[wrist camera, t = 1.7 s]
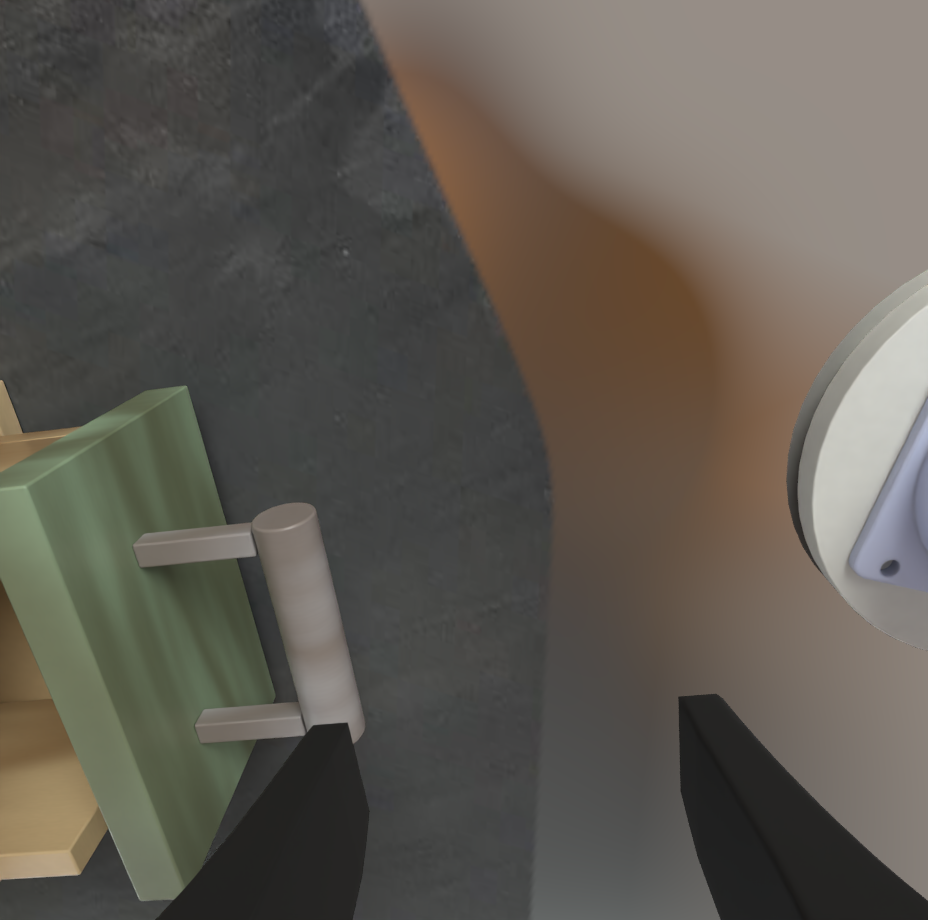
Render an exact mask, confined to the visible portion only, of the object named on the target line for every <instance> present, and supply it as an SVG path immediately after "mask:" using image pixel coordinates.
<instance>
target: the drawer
mask: <svg viewBox="0 0 928 920" xmlns="http://www.w3.org/2000/svg"><path fill="white" fill-rule="evenodd" d="M258 553H259V557H260V560H261V564H262V568H263V571H264V575H265V579H266V582H267V586H268V590H269V594H270V597H271V601H272V605H273V608H274V612H275V616H276V619H277V623H278V627H279V630H280V634H281V638H282V641H283V645H284V649H285V652H286V656H287V660H288V663H289V667H290V671H291V674H292V678H293V682H294V685H295V689H296V693H297V696H298V700H299V702H288V703H276V704H273V701H274V699H275V696H276V695H275V691H274V688H273V684H272V681H271V677H270V674H269V670H268V667H267V663H266V660H265V656H264V653H263V649H262V646H261V642H260V639H259V635H258V632H257V628H256V625H255V621H254V618H253V614H252V611H251V607H250V604H249V601H248V597H247V594H246V590H245V587H244V583H243V580H242V576H241V573H240V569H239V566H238V562H237V559H236V558H245V557H254V556H256V555H257V554H258ZM346 722H348V725H349V729H350V734H351V738H352V742H353V744H354V743H355V742H357V741H358V740H359V739H360V737H361V736H362V734H363V732H364V729H365V719H364V714H363V710H362V706H361V702H360V697H359V693H358V689H357V684H356V680H355V676H354V671H353V667H352V663H351V658H350V654H349V650H348V645H347V641H346V637H345V633H344V628H343V624H342V620H341V615H340V611H339V607H338V602H337V598H336V594H335V589H334V585H333V581H332V576H331V572H330V568H329V564H328V559H327V555H326V551H325V546H324V542H323V538H322V533H321V529H320V525H319V520H318V516H317V512H316V509H315V508H314V506H312V505H311V504H308V503H288V504H283V505H279V506H276V507H273V508H270V509H268V510H265V511H264V512H262V513H260V514H259V515H257V516H256V517H255V518H254V519H253V521H252V522H251V523H242V524H232V525H227V524H226V520H225V517H224V513H223V510H222V506H221V503H220V499H219V496H218V492H217V489H216V485H215V482H214V478H213V475H212V471H211V468H210V464H209V461H208V457H207V454H206V450H205V447H204V443H203V440H202V436H201V433H200V429H199V426H198V422H197V419H196V415H195V412H194V408H193V405H192V401H191V398H190V394H189V391H188V387H187V386H178V387H170V388H162V389H154V390H146V391H144V392H143V393H141V394H139V395H137V396H135V397H134V398H132V399H130V400H128V401H127V402H125V403H123V404H121V405H119V406H118V407H116V408H114V409H112V410H111V411H109V412H107V413H105V414H103V415H102V416H100V417H98V418H96V419H94V420H93V421H91V422H89V423H87V424H86V425H84V426H82V427H73V428H65V429H57V430H48V431H40V432H31V433H23V434H15V435H6V436H0V880H4V879H20V878H37V877H54V876H70V875H79V874H81V872H82V871H83V869H84V868H85V866H86V864H87V863H88V861H89V859H90V858H91V856H92V854H93V853H94V851H95V849H96V848H97V846H98V844H99V843H100V841H101V840H102V838H103V836H104V835H105V833H106V831H107V830H108V829H109V831H110V834H111V836H112V838H113V841H114V843H115V845H116V848H117V850H118V852H119V854H120V857H121V859H122V861H123V864H124V866H125V868H126V871H127V873H128V875H129V878H130V880H131V882H132V884H133V887H134V889H135V891H136V894H137V896H138V898H139V900H140V901H152V900H170V899H175V898H176V897H177V896H178V895H179V894H180V893H181V892H182V890H183V889H184V888H185V887H186V886H187V885H188V884H189V883H190V881H191V880H192V879H193V878H194V877H195V876H196V874H197V873H198V872H199V871H200V870H201V867H202V865H203V863H204V860H205V858H206V856H207V854H208V851H209V849H210V847H211V844H212V842H213V840H214V837H215V835H216V833H217V830H218V828H219V826H220V824H221V821H222V819H223V817H224V814H225V812H226V810H227V807H228V805H229V803H230V800H231V798H232V796H233V794H234V791H235V789H236V787H237V784H238V782H239V780H240V777H241V775H242V773H243V770H244V768H245V766H246V764H247V761H248V759H249V757H250V754H251V752H252V750H253V747H254V745H255V743H256V741H257V739H269V738H282V737H295V736H304V735H306V732H308V731H309V729H310V728H311V727H312V726H313V725H320V724H333V723H346Z"/></svg>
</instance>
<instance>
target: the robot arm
mask: <svg viewBox="0 0 928 920" xmlns="http://www.w3.org/2000/svg"><path fill="white" fill-rule="evenodd" d="M889 560H892V563H891V564H890V566H889V567H887V568H885V569H881V566H882V565H883V564H884V562H886V561H889ZM849 565H850V567H851V568H852V569H853V571H854V572H855V573H856V574H857V575H858V576H860V577H862V578H864V579H869V580H873V581H878V582H882V583H887V584H891V585H896V586H901V587H905V588H910V589H914V590H919V591H923V592H928V398H927V400H926V402H925V404H924V406H923V408H922V410H921V412H920V414H919V416H918V418H917V420H916V422H915V424H914V426H913V428H912V430H911V432H910V434H909V436H908V438H907V440H906V442H905V444H904V446H903V448H902V450H901V452H900V454H899V456H898V458H897V460H896V463H895V465H894V467H893V469H892V471H891V473H890V475H889V477H888V479H887V481H886V483H885V485H884V487H883V489H882V491H881V493H880V495H879V497H878V499H877V501H876V503H875V505H874V507H873V509H872V511H871V513H870V515H869V517H868V519H867V521H866V523H865V525H864V527H863V529H862V531H861V534H860V536H859V538H858V540H857V542H856V544H855V546H854V548H853V550H852V552H851V554H850V557H849ZM679 733H680V734H679V738H680V779H681V780H680V781H681V794H682V798H683V802H684V806H685V810H686V814H687V818H688V822H689V826H690V829H691V833H692V837H693V841H694V845H695V848H696V852H697V856H698V859H699V862H700V864H701V867H702V870H703V872H704V875H705V878H706V881H707V883H708V886H709V889H710V892H711V894H712V897H713V900H714V903H715V905H716V908H717V911H718V914H719V916H720V919H721V920H928V901H927V900H926V899H925V898H924V897H922V896H921V895H920V894H919V893H918V892H916V891H915V890H914V889H913V888H912V887H910V886H909V885H908V884H907V883H905V882H904V881H903V880H902V879H901V878H900V877H898V876H897V875H896V874H895V873H894V872H892V871H891V870H890V869H889V868H888V867H887V866H886V865H884V864H883V863H882V862H881V861H880V860H879V859H878V858H877V857H875V856H874V855H873V854H872V853H871V852H870V851H869V850H868V849H867V848H865V847H864V846H863V845H862V844H861V843H860V842H859V841H858V840H857V839H856V838H855V837H853V835H851V834H850V833H849V832H848V831H847V830H846V829H845V828H844V827H843V826H842V825H840V823H838V822H837V821H836V820H835V819H834V818H833V817H832V816H831V815H830V814H829V813H828V812H827V811H826V810H825V809H824V808H823V807H822V806H821V805H820V804H819V803H818V802H817V801H816V800H815V799H814V798H813V797H812V796H811V795H810V794H809V793H808V792H807V791H806V790H805V789H804V788H803V787H802V786H801V785H800V784H799V783H798V782H797V781H796V780H795V779H794V778H793V777H792V776H791V775H790V774H789V773H788V772H787V771H786V770H785V768H784V767H783V766H782V765H781V764H780V763H779V762H778V761H777V760H776V759H775V758H774V757H773V756H772V755H771V753H770V752H769V751H768V750H767V749H766V748H765V747H764V746H763V745H762V744H761V742H760V741H758V739H757V738H756V737H755V736H754V735H753V733H752V732H751V731H750V730H749V729H748V728H747V727H746V726H745V725H744V723H743V722H742V721H741V720H740V719H739V717H738V716H737V715H736V714H735V713H734V712H733V710H732V709H731V708H730V707H729V706H728V704H727V703H726V702H725V701H724V700H723V699H722V698H721V697H720V696H719V695H717V694H708V695H695V696H682V697H679ZM368 821H369V807H368V803H367V799H366V795H365V791H364V787H363V783H362V779H361V775H360V770H359V766H358V762H357V758H356V754H355V750H354V746H353V742H352V738H351V734H350V729H349V725H348V722H346V723H333V724H320V725H313V726H312V727H311V728H310V729H309V731H308V732H307V733H306V735H305V736H304V737H303V739H302V740H301V741H300V743H299V744H298V745H297V747H296V748H295V750H294V751H293V752H292V754H291V755H290V756H289V758H288V759H287V760H286V762H285V763H284V765H283V766H282V767H281V769H280V770H279V771H278V773H277V774H276V775H275V777H274V778H273V779H272V781H271V782H270V783H269V785H268V786H267V787H266V789H265V790H264V792H263V793H262V794H261V795H260V797H259V798H258V799H257V801H256V802H255V803H254V804H253V806H252V807H251V808H250V810H249V811H248V812H247V813H246V815H245V816H244V817H243V819H242V820H241V821H240V822H239V824H238V825H237V826H236V828H235V829H234V830H233V831H232V833H231V834H230V835H229V836H228V838H227V839H226V840H225V841H224V842H223V844H222V845H221V846H220V847H219V848H218V850H217V851H216V852H215V853H214V854H213V855H212V857H211V858H210V859H209V860H208V861H207V863H206V864H205V865H204V866H203V867H202V868H201V870H200V871H199V872H198V873H197V874H196V876H195V877H194V878H193V879H192V880H191V881H190V883H189V884H188V885H187V886H186V887H185V888H184V889H183V890H182V892H181V893H180V894H179V895H178V896H177V897H176V898H175V899H174V900H173V902H172V903H171V904H170V905H169V906H168V907H167V908H166V909H165V910H164V911H163V912H162V913H161V914H160V916H159V917H158V918H157V919H156V920H352V919H353V915H354V910H355V906H356V901H357V897H358V892H359V888H360V883H361V878H362V873H363V865H364V857H365V849H366V840H367V830H368Z"/></svg>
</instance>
